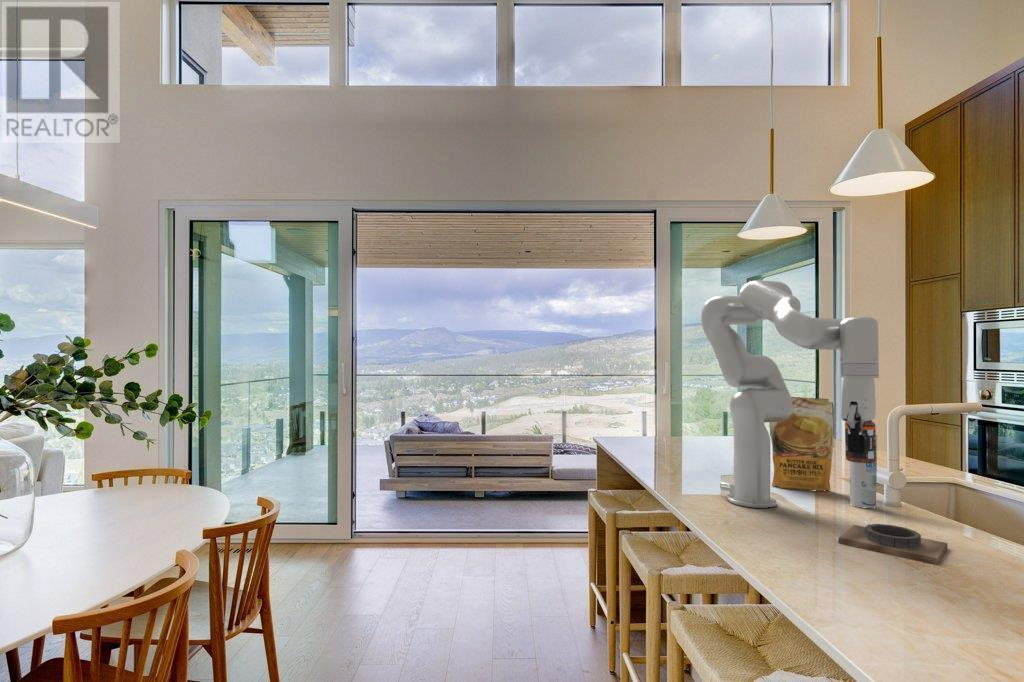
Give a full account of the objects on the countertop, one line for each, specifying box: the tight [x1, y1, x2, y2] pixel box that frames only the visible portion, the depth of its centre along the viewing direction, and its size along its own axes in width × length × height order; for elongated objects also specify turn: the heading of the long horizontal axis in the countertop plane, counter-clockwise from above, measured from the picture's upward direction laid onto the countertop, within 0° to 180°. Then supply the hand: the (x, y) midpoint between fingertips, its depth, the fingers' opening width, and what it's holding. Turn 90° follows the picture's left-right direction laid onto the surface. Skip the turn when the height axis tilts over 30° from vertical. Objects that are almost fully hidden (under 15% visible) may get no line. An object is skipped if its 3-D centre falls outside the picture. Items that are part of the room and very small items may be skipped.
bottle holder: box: [837, 523, 948, 565], centre depth 128 cm, size 18×13×3 cm
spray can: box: [849, 433, 878, 509], centre depth 161 cm, size 6×6×20 cm
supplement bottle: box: [844, 419, 877, 463], centre depth 132 cm, size 6×6×11 cm
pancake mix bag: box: [768, 396, 835, 492], centre depth 180 cm, size 7×19×28 cm, turn 71°
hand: (860, 450), depth 132 cm, fingers closed on supplement bottle, 6 cm apart
